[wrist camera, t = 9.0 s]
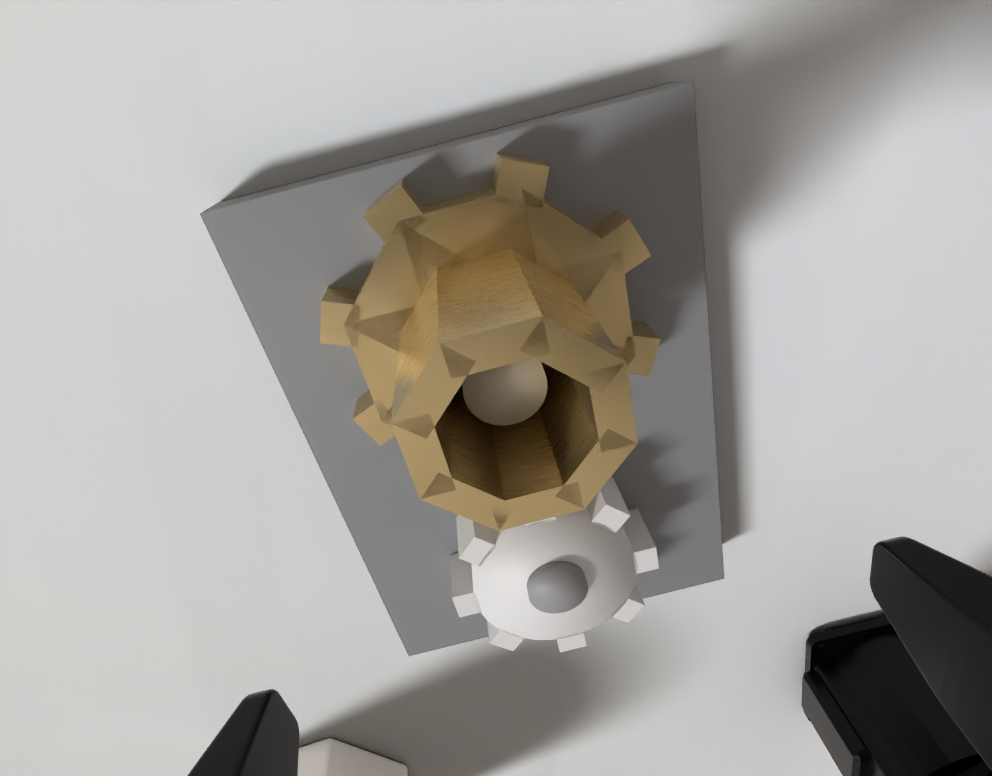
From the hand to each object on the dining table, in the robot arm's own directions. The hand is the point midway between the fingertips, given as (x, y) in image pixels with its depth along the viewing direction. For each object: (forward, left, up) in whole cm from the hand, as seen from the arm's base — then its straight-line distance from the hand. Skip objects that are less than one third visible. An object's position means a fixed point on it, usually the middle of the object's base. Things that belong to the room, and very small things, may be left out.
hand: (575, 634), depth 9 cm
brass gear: (0, -1, -10) cm, 10 cm away
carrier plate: (0, +3, -12) cm, 12 cm away
